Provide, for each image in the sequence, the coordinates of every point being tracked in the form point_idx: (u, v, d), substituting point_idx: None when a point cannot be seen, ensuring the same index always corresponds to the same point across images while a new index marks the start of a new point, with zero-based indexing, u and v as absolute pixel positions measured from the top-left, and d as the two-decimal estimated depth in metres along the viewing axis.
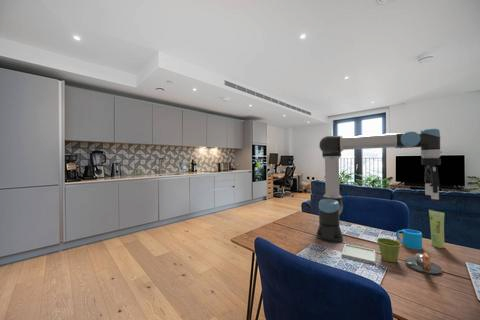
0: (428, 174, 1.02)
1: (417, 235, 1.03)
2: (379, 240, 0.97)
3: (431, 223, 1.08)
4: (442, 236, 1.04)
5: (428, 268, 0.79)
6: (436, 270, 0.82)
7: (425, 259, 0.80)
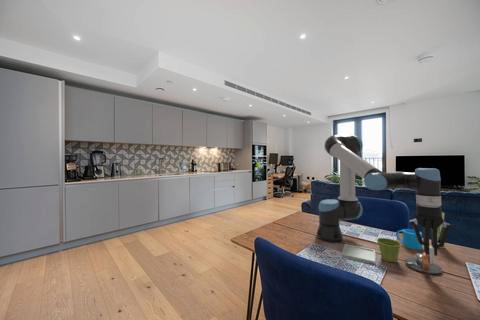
0: None
1: None
2: (379, 240, 0.97)
3: None
4: None
5: (427, 268, 0.79)
6: (436, 270, 0.82)
7: (424, 259, 0.80)
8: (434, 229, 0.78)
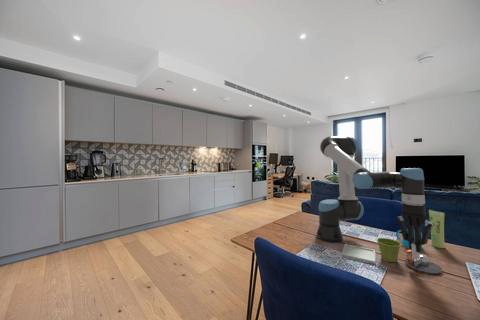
0: None
1: None
2: (379, 240, 0.97)
3: None
4: (442, 236, 1.04)
5: (410, 263, 0.83)
6: (436, 270, 0.82)
7: (407, 254, 0.84)
8: (414, 226, 0.81)
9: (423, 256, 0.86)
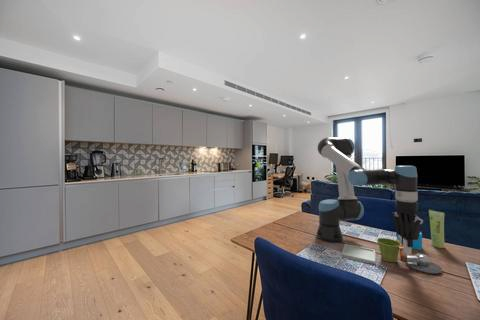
0: None
1: None
2: (379, 240, 0.97)
3: (431, 223, 1.08)
4: (442, 236, 1.04)
5: (402, 258, 0.87)
6: (436, 270, 0.82)
7: (400, 250, 0.88)
8: (405, 222, 0.84)
9: (422, 256, 0.86)
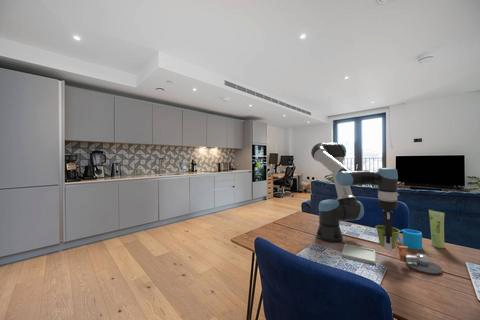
0: (383, 219, 0.93)
1: (417, 235, 1.03)
2: (378, 227, 0.98)
3: (431, 223, 1.08)
4: (442, 236, 1.04)
5: (400, 258, 0.87)
6: (436, 270, 0.82)
7: (399, 249, 0.88)
8: None
9: (422, 256, 0.86)
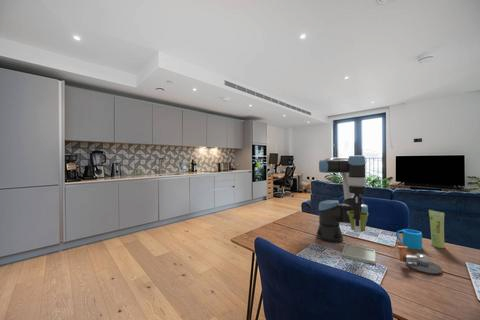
0: (353, 204, 0.98)
1: (417, 235, 1.03)
2: (350, 212, 1.03)
3: (431, 223, 1.08)
4: (442, 236, 1.04)
5: (400, 258, 0.87)
6: (436, 270, 0.82)
7: (399, 249, 0.88)
8: (361, 202, 1.00)
9: (422, 256, 0.86)
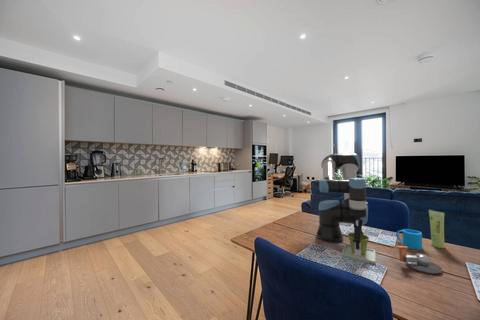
0: None
1: (417, 235, 1.03)
2: (350, 235, 1.03)
3: (431, 223, 1.08)
4: (442, 236, 1.04)
5: (400, 258, 0.87)
6: (436, 270, 0.82)
7: (399, 249, 0.88)
8: None
9: (422, 256, 0.86)
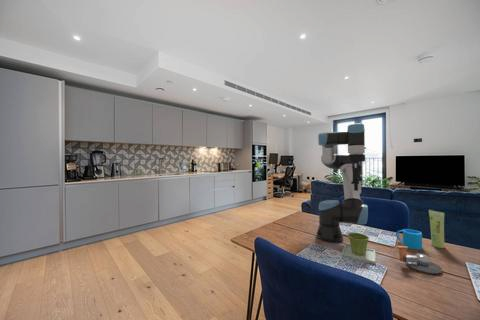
0: (352, 171, 0.97)
1: (417, 235, 1.03)
2: (350, 235, 1.03)
3: (431, 223, 1.08)
4: (442, 236, 1.04)
5: (400, 258, 0.87)
6: (436, 270, 0.82)
7: (399, 249, 0.88)
8: None
9: (422, 256, 0.86)
